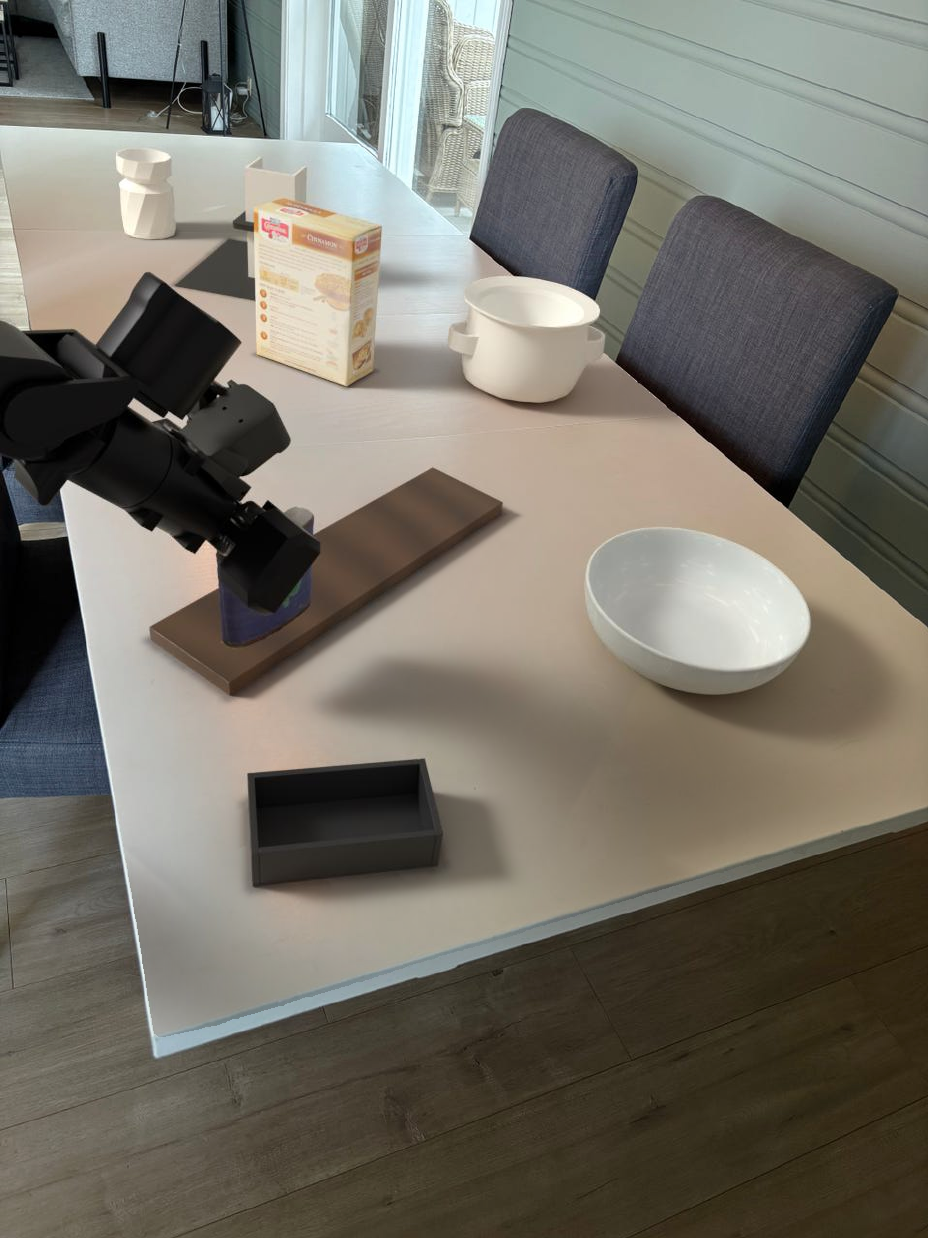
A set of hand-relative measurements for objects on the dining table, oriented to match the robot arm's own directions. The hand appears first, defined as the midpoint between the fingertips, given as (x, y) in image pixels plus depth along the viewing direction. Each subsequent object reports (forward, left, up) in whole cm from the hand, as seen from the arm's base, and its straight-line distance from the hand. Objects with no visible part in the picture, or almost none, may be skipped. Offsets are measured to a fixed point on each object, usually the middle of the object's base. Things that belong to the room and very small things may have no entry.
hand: (282, 552), depth 71 cm
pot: (+35, +56, -12) cm, 67 cm away
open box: (+4, -18, -12) cm, 22 cm away
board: (+7, +14, -12) cm, 20 cm away
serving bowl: (+38, +1, -12) cm, 40 cm away
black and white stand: (+3, +94, -12) cm, 95 cm away
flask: (-1, -1, -7) cm, 7 cm away
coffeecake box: (+7, +61, -12) cm, 62 cm away
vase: (-18, +111, -12) cm, 113 cm away
